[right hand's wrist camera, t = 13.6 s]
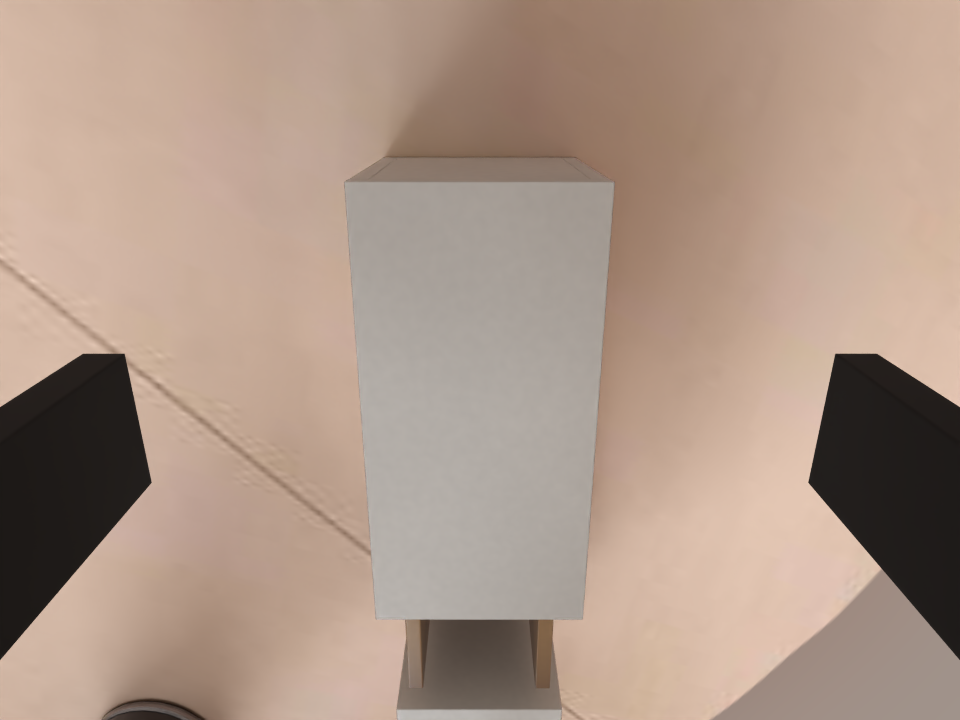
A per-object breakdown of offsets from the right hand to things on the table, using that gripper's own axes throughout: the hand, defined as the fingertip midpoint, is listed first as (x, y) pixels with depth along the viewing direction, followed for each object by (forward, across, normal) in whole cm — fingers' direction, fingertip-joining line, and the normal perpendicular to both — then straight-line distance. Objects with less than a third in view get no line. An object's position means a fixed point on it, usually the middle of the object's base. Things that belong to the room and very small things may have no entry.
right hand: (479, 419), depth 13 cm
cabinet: (+26, 0, -8) cm, 27 cm away
